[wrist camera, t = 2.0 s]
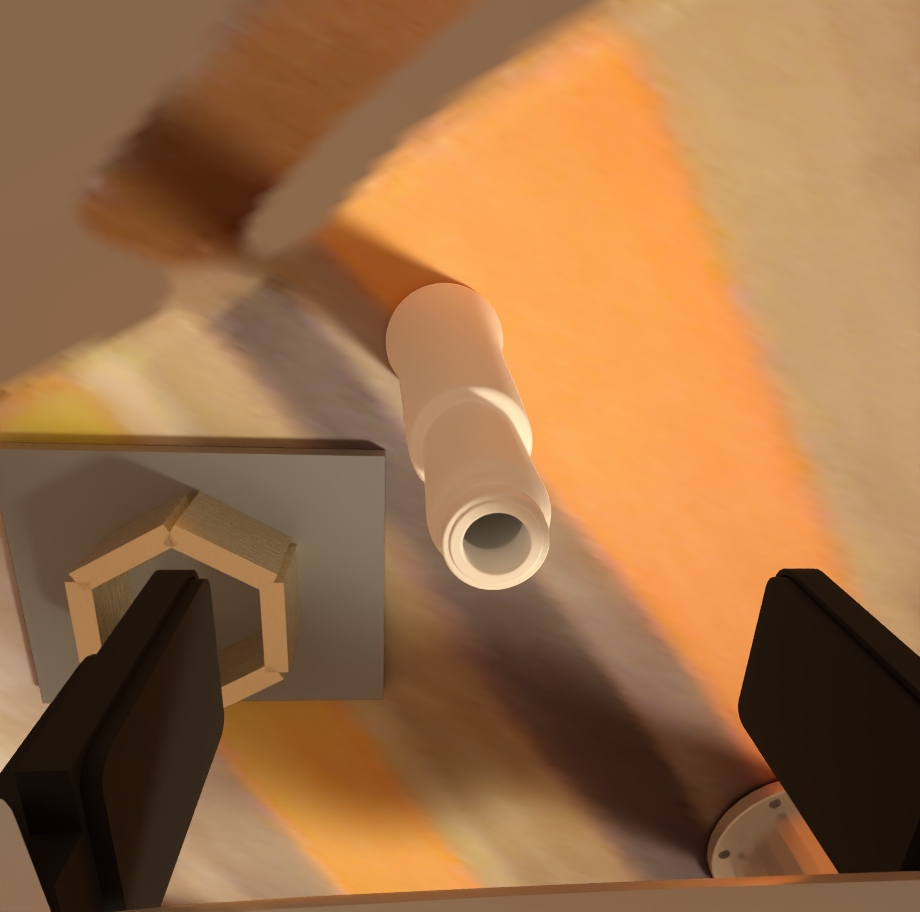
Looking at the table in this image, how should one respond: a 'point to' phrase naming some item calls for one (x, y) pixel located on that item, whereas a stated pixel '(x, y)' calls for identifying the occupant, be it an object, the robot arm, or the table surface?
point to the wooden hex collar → (216, 544)
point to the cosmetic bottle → (468, 436)
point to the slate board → (234, 602)
